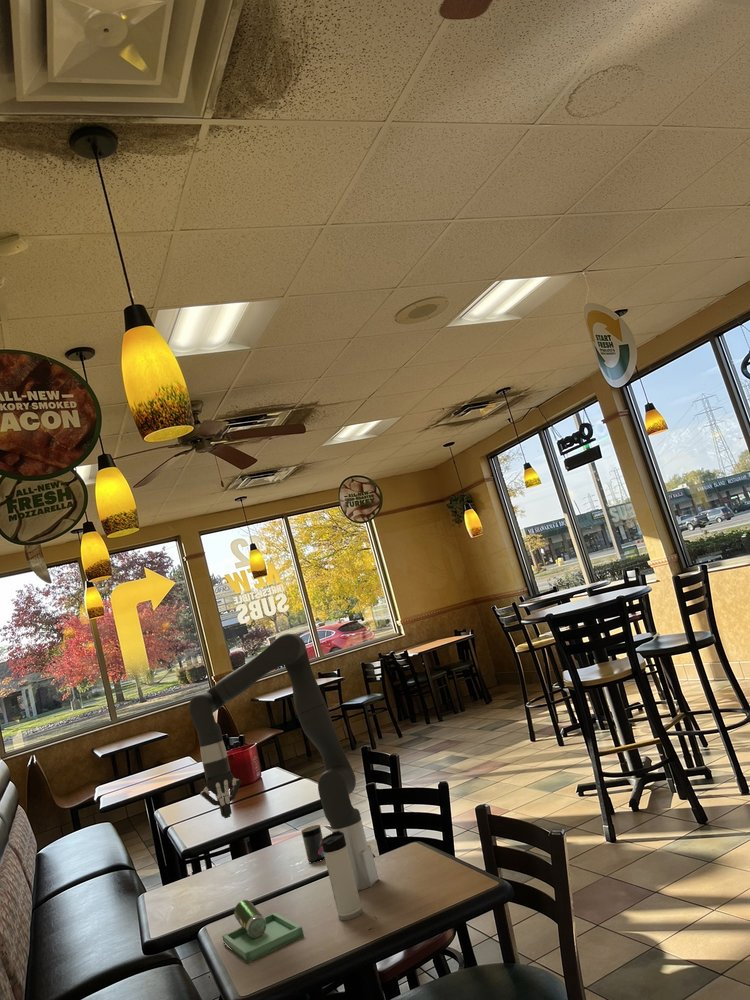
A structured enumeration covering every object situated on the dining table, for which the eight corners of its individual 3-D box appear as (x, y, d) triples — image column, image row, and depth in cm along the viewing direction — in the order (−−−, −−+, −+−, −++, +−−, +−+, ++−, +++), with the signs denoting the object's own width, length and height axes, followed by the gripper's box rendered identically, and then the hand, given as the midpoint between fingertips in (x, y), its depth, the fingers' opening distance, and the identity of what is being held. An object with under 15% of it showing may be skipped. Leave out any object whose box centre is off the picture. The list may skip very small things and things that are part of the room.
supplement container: (318, 863, 244) (310, 831, 246) (304, 864, 248) (297, 832, 250) (331, 855, 249) (324, 824, 251) (317, 856, 253) (310, 825, 255)
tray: (224, 944, 191) (222, 935, 192) (276, 920, 199) (274, 912, 199) (247, 963, 174) (245, 953, 175) (303, 936, 182) (301, 926, 182)
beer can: (244, 894, 198) (259, 911, 188) (256, 908, 199) (271, 926, 189) (229, 910, 196) (243, 928, 185) (241, 924, 197) (255, 943, 186)
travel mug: (366, 907, 190) (347, 828, 194) (357, 919, 184) (338, 837, 188) (345, 911, 192) (326, 832, 196) (335, 922, 186) (316, 841, 189)
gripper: (231, 752, 227) (244, 809, 224) (190, 765, 221) (202, 824, 217) (239, 752, 221) (251, 810, 218) (196, 765, 214) (209, 826, 211)
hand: (227, 817), depth 218 cm, fingers closed
